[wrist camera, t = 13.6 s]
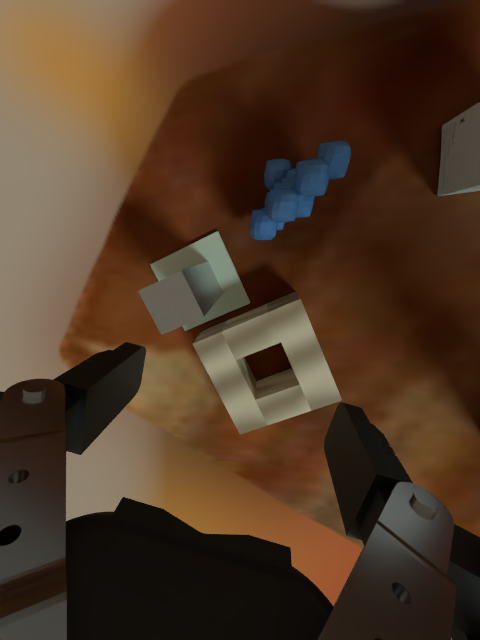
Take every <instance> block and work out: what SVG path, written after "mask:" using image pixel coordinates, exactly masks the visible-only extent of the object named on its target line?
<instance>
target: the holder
mask: <svg viewBox="0 0 480 640" xmlns="http://www.w3.org/2000/svg"><path fill="white" fill-rule="evenodd" d="M278 343H282V346H283V348H284V350H285V352H286V355H287V357H288V359H289V361H290V364H291V366H292V368H290V369H288V370H285V371H282V372H280V373H277V374H274V375H272V376H269V377H266V378H263V379H261V380H258V381H256V379H255V377H254V375H253V373H252V371H251V369H250V367H249V365H248V363H247V361H246V359H245V356H248V355H250V354H253V353H255V352H258V351H260V350H263V349H265V348H268V347H271V346H273V345H276V344H278ZM193 346H194V348H195V350H196V352H197V354H198V356H199V357H200V359H201V361H202V363H203V365H204V367H205V369H206V371H207V373H208V375H209V376H210V378H211V380H212V382H213V384H214V386H215V388H216V390H217V392H218V394H219V395H220V397H221V399H222V401H223V403H224V405H225V407H226V409H227V411H228V413H229V414H230V416H231V418H232V420H233V422H234V424H235V426H236V428H237V430H238V432H239V434H243V433H246V432H249V431H252V430H255V429H258V428H261V427H264V426H267V425H270V424H273V423H276V422H279V421H282V420H285V419H288V418H291V417H294V416H297V415H300V414H303V413H306V412H309V411H312V410H315V409H318V408H321V407H324V406H327V405H330V404H333V403H336V402H339V401H342V399H341V396H340V394H339V392H338V389H337V387H336V384H335V382H334V379H333V377H332V374H331V372H330V370H329V367H328V365H327V362H326V360H325V357H324V355H323V353H322V350H321V348H320V345H319V343H318V340H317V338H316V336H315V333H314V331H313V328H312V326H311V323H310V321H309V318H308V316H307V314H306V311H305V309H304V306H303V304H302V301H301V299H300V297H299V296H298V294H297V293H296V291H295V292H292V293H290V294H288V295H285V296H283V297H281V298H278V299H276V300H274V301H271V302H269V303H267V304H264V305H262V306H260V307H257V308H255V309H252V310H250V311H248V312H245V313H243V314H241V315H238V316H236V317H234V318H231V319H229V320H227V321H224V322H222V323H220V324H217V325H215V326H212V327H210V328H208V329H205V330H203V331H201V332H200V334H199V335H198V337H197V338H196V340H195V341H194V342H193Z"/></svg>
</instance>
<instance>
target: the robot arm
mask: <svg viewBox="0 0 480 640" xmlns="http://www.w3.org/2000/svg"><path fill="white" fill-rule="evenodd" d="M145 355H146V349H145V347H143V346H139V345H136V344H132V343H128V342H125V343H124V344H122V345H121V346H119V347H118V348H116V349H115V350H113V351H112V350H107V351H103V352H100V353H96V354H95V355H93V356H91V357H90V358H88V359H87V360H85V361H83V362H81V363H80V364H79V365H77V366H75V367H73V368H72V369H70V370H68V371H67V372H65V373H63V374H62V375H60V376H58V377H57V378H55V379H54V380H50V379H31V380H26V381H22V382H19V383H17V384H14V385H12V386H11V387H9V388H8V389H7V390H6V391H5V392H0V640H451V637H452V640H480V537H478V536H476V535H474V534H472V533H470V532H469V531H467V530H465V529H463V528H461V527H459V526H457V525H455V524H454V519H453V517H452V515H451V514H450V512H449V511H448V509H447V508H446V507H445V506H444V505H443V503H442V502H441V501H439V500H438V499H437V498H436V497H435V496H434V495H432V494H431V493H430V492H428V491H427V490H425V489H423V488H422V487H420V486H418V485H415V484H413V482H412V481H411V479H410V478H409V476H408V474H407V473H406V471H405V469H404V468H403V466H402V464H401V463H400V461H399V459H398V458H397V456H395V453H394V451H393V449H392V448H391V447H390V444H389V443H388V441H387V439H386V438H385V436H384V434H382V433H381V432H380V431H379V430H378V429H377V428H376V427H375V426H374V425H373V424H370V422H369V420H368V418H367V417H366V415H365V413H364V411H363V410H362V408H360V407H357V406H353V405H349V404H346V403H340V404H339V405H338V407H337V409H336V411H335V414H334V416H333V419H332V421H331V424H330V426H329V429H328V431H327V434H326V437H325V442H324V451H325V455H326V459H327V462H328V466H329V470H330V474H331V478H332V482H333V485H334V489H335V493H336V497H337V501H338V504H339V508H340V512H341V516H342V520H343V523H344V527H345V531H346V535H347V536H350V537H353V538H356V539H360V540H362V541H363V544H364V548H363V550H362V552H361V554H360V556H359V557H358V560H357V561H356V563H355V565H354V567H353V569H352V571H351V573H350V575H349V577H348V579H347V581H346V583H345V585H344V587H343V589H342V591H341V593H340V595H339V597H338V599H337V601H336V602H335V604H334V606H333V605H332V604H331V603H330V602H329V600H328V599H327V598H326V596H325V595H324V594H323V593H322V592H321V591H320V590H319V589H318V587H317V586H316V585H315V584H314V583H312V582H311V581H310V580H309V579H308V578H307V577H306V576H304V575H303V574H302V573H301V572H299V571H298V570H297V569H295V568H294V567H292V565H291V550H290V547H286V546H283V545H280V544H277V543H273V542H270V541H267V540H263V539H260V538H257V537H253V536H250V535H226V534H204V533H201V532H199V531H197V530H196V529H194V528H192V527H191V526H189V525H188V524H186V523H184V522H183V521H181V520H180V519H178V518H177V517H175V516H173V515H172V514H170V513H169V512H167V511H165V510H164V509H161V508H158V507H154V506H151V505H148V504H144V503H141V502H137V501H134V500H131V499H128V498H125V497H123V498H122V499H121V501H120V503H119V505H118V506H117V508H116V510H115V511H114V512H99V513H93V514H88V515H83V516H80V517H77V518H74V519H71V520H68V521H66V452H67V451H69V452H72V453H75V454H79V455H81V454H82V453H83V452H84V451H85V450H86V449H87V447H89V445H90V444H91V443H92V442H93V441H94V440H95V439H96V438H97V437H98V436H99V435H100V433H101V432H102V431H103V430H104V429H105V428H106V427H107V426H108V425H109V423H110V422H111V421H112V420H113V419H114V418H115V417H116V416H117V415H118V414H119V413H120V412H121V411H122V409H123V408H124V407H125V406H126V405H127V404H128V403H129V402H130V401H131V400H132V399H133V398H134V396H135V395H136V393H137V392H138V389H139V387H140V384H141V379H142V373H143V367H144V361H145Z"/></svg>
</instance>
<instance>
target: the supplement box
mask: <svg viewBox="0 0 480 640" xmlns="http://www.w3.org/2000/svg"><path fill="white" fill-rule="evenodd" d="M473 191H480V102H479V103H477V104H475V105H474V106H472V107H471V108H469V109H467V110H466V111H464V112H463V113H461V114H460V115H458V116H456V117H455V118H453V119H452V120H450V121H449V122H447V123H445V124H444V125H442V141H441V160H440V171H439V183H438V192H437V196H444V195H451V194H458V193H466V192H473Z"/></svg>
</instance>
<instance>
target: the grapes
mask: <svg viewBox="0 0 480 640" xmlns="http://www.w3.org/2000/svg"><path fill="white" fill-rule="evenodd" d="M350 156H351V149H350V146H349V144H348V143H347V142H343V141H333V142H327V143H323V144H320V147H319V150H318V154H317V158H315V159H311V160H305V161H299V163H297V166H296V168H292V164H291V163H290V161H289V160H285V159H274V160H269V161H267V164H266V168H265V173H264V183H265V186H266V188H267V189H269V190H270V192H268V193H267V195H266V198H265V206H264V208H262V209H260V210H253V212H252V217H251V222H250V236H251V237H253V238H254V239H256V240H272V238H274V237H275V234H276V230H283V227H284V223H285V222H288V221H294V220H295V217H296V218H300V217H310V214H311V211H312V207H313V203H314V196H321V195H324V193H325V192H326V189H327V186H328V181H329V180H330V179H337V178H343V177H344V176H345V174H346V171H347V168H348V164H349V161H350Z"/></svg>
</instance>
